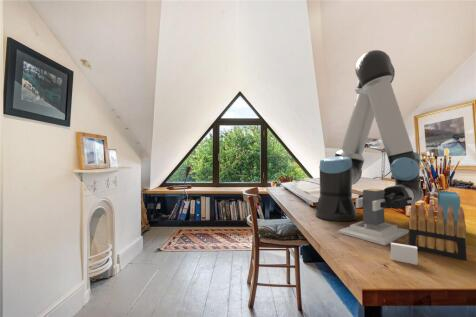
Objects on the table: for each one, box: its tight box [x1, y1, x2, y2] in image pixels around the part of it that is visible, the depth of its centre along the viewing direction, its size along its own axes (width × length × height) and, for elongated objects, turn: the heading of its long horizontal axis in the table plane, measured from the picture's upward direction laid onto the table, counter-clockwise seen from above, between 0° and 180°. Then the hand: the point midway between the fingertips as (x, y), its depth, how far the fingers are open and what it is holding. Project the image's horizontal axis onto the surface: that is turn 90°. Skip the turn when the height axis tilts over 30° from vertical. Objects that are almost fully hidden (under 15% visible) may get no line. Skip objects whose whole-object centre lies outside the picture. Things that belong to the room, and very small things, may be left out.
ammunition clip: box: [408, 202, 468, 262], centre depth 57 cm, size 11×2×12 cm, turn 47°
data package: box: [437, 190, 461, 235], centre depth 72 cm, size 12×4×12 cm, turn 141°
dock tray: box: [338, 220, 409, 246], centre depth 72 cm, size 13×17×4 cm
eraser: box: [390, 242, 418, 265], centre depth 53 cm, size 1×5×4 cm, turn 57°
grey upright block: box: [362, 188, 385, 225], centre depth 72 cm, size 4×5×10 cm
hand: (365, 204), depth 69 cm, fingers open, 4 cm apart
